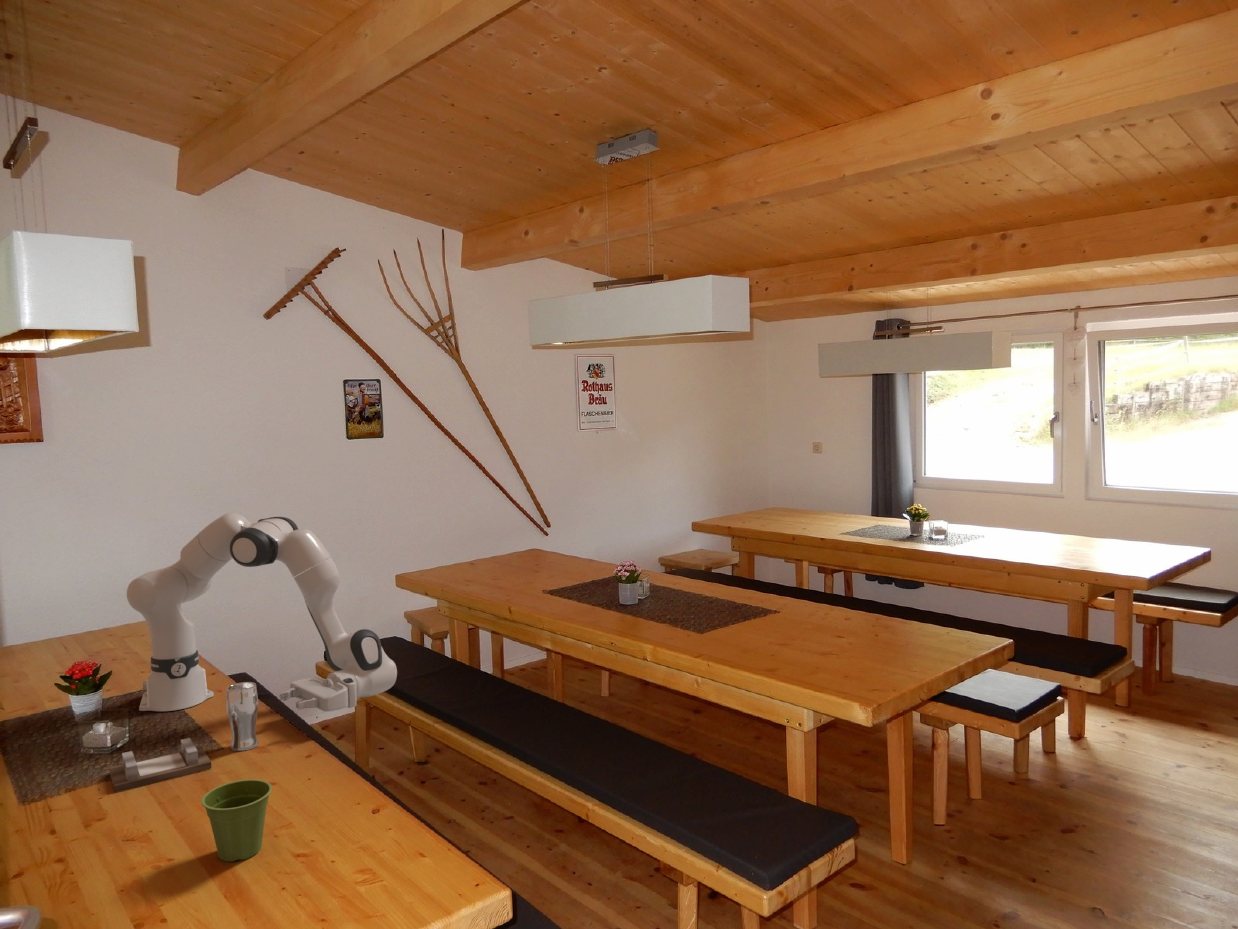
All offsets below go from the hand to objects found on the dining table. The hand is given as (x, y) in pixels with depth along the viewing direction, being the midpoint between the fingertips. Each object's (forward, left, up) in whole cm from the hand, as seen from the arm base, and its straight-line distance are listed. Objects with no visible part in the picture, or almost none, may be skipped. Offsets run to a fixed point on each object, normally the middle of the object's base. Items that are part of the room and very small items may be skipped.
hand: (288, 701), depth 210 cm
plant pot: (+55, -23, -8) cm, 60 cm away
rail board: (+5, -30, -8) cm, 31 cm away
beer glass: (+2, -11, -8) cm, 14 cm away
